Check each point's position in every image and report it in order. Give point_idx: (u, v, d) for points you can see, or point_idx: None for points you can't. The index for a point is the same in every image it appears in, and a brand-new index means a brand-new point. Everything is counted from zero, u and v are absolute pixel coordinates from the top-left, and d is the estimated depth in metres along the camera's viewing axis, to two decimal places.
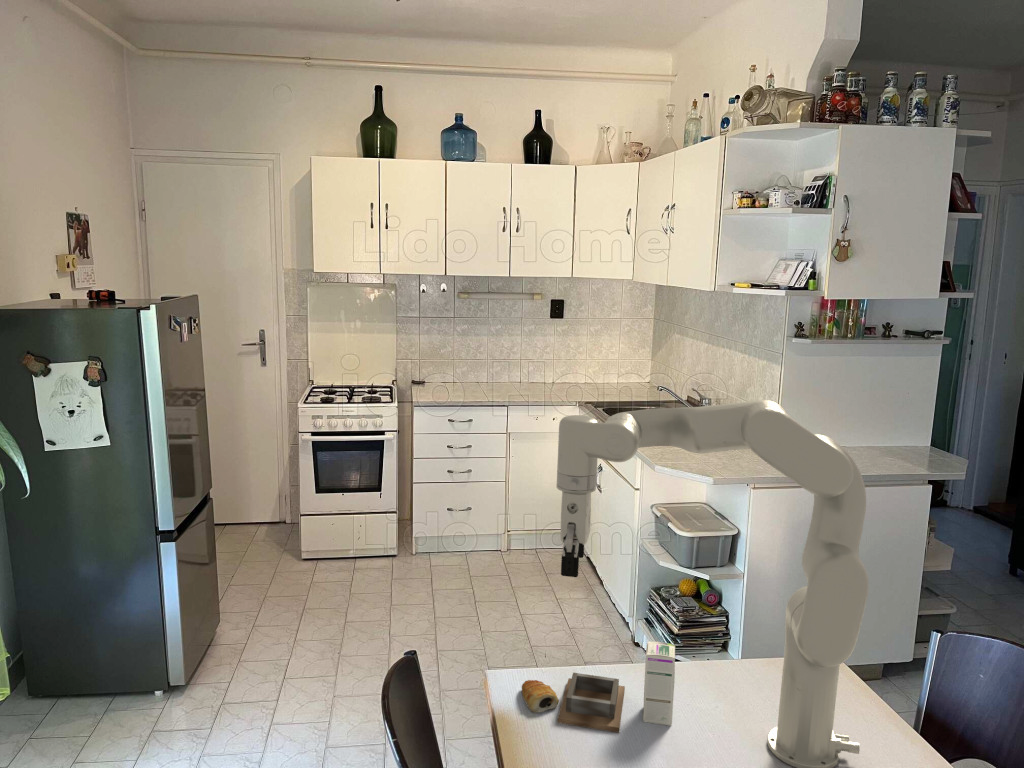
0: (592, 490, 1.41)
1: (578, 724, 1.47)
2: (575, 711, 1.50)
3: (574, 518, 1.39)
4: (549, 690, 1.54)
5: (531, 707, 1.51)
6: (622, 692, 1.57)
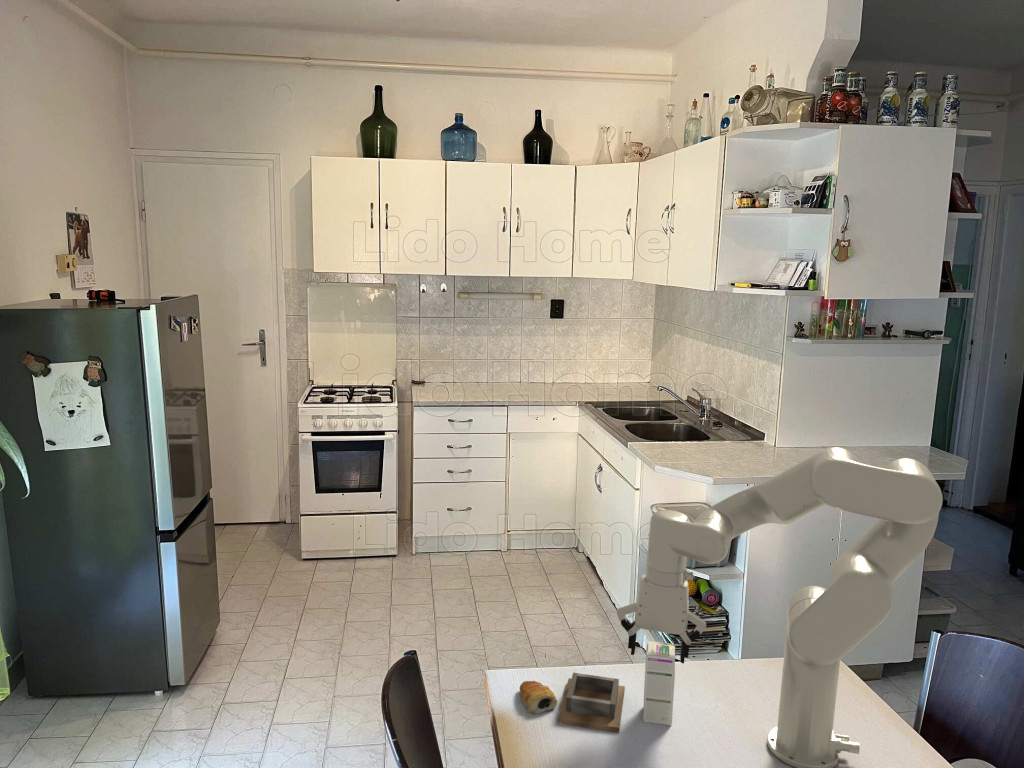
0: None
1: (578, 724, 1.47)
2: (575, 711, 1.50)
3: None
4: (547, 691, 1.53)
5: (530, 708, 1.50)
6: (622, 692, 1.57)
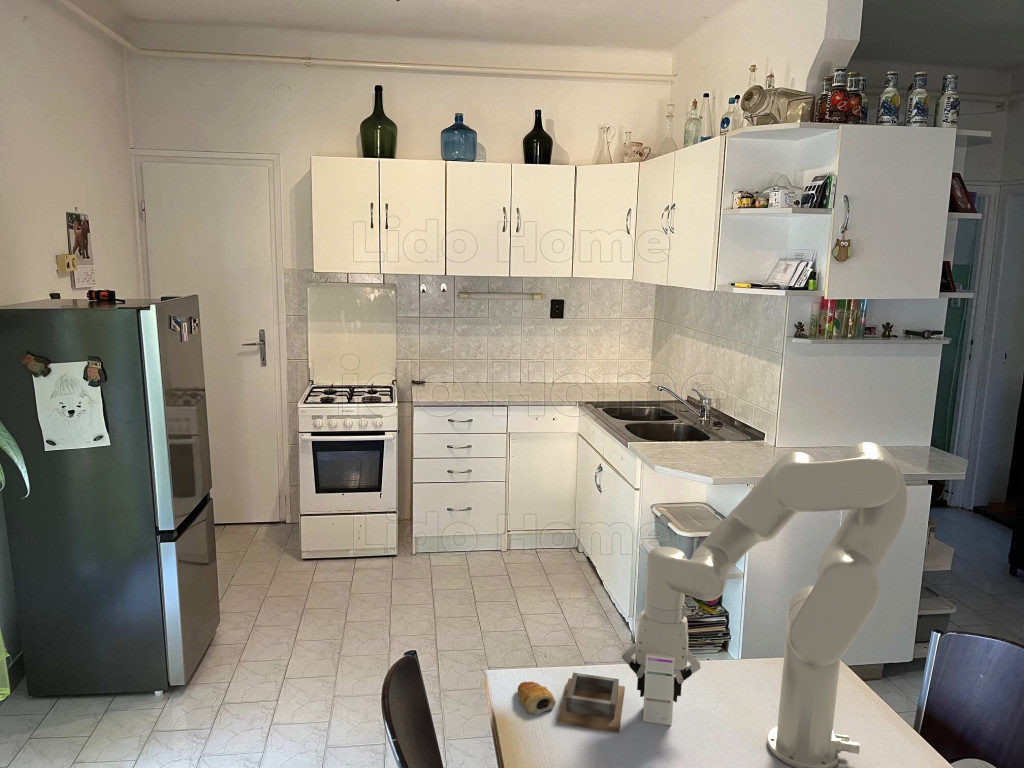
0: None
1: (578, 724, 1.47)
2: (575, 711, 1.50)
3: None
4: (546, 691, 1.53)
5: (528, 709, 1.50)
6: (622, 692, 1.57)
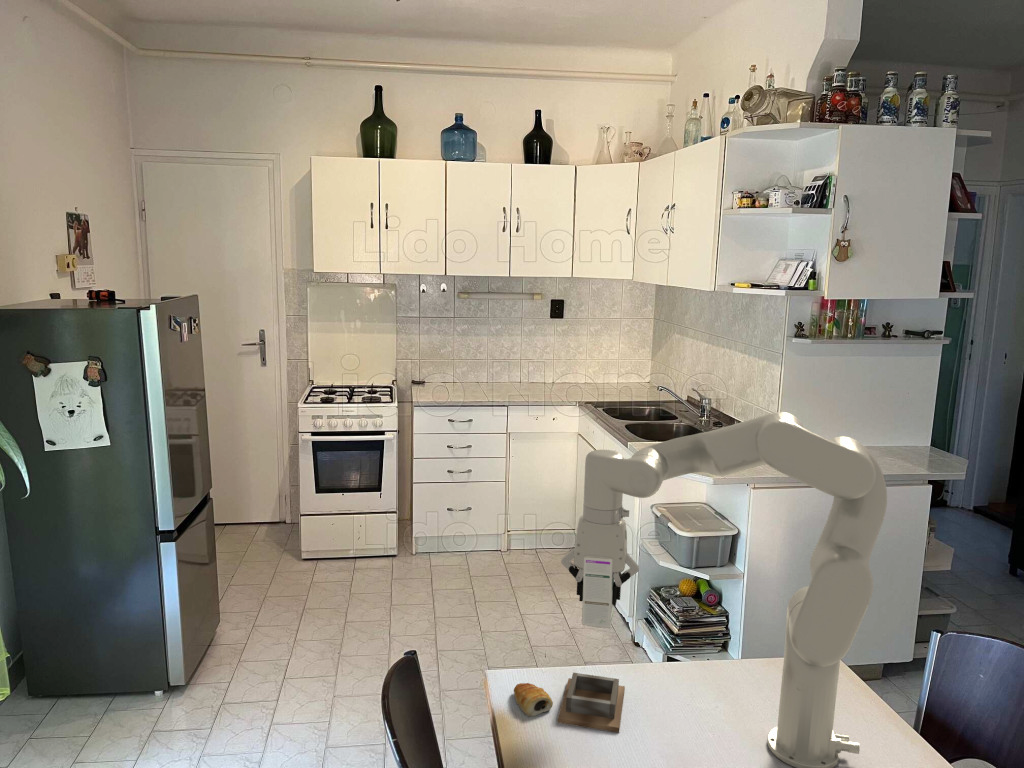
0: None
1: (578, 724, 1.47)
2: (575, 711, 1.50)
3: (626, 543, 1.48)
4: (543, 692, 1.53)
5: (526, 711, 1.50)
6: (622, 692, 1.57)
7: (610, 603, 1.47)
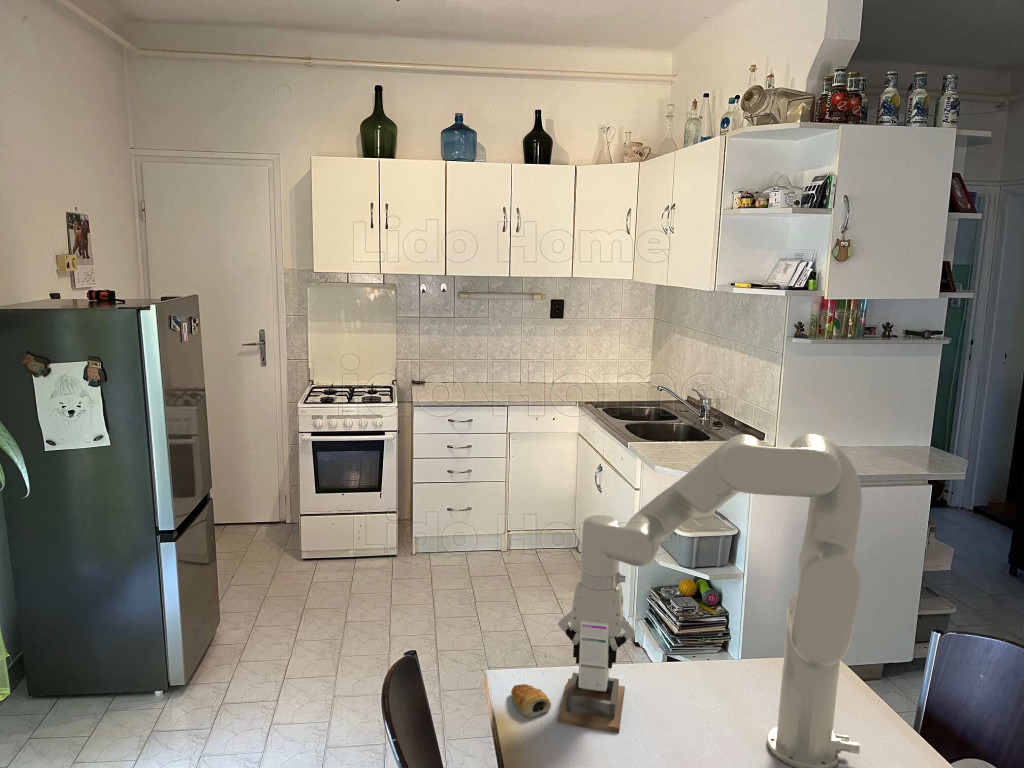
0: None
1: (578, 724, 1.47)
2: (575, 711, 1.50)
3: (622, 608, 1.50)
4: (541, 693, 1.52)
5: (525, 712, 1.49)
6: (622, 692, 1.57)
7: (606, 667, 1.49)
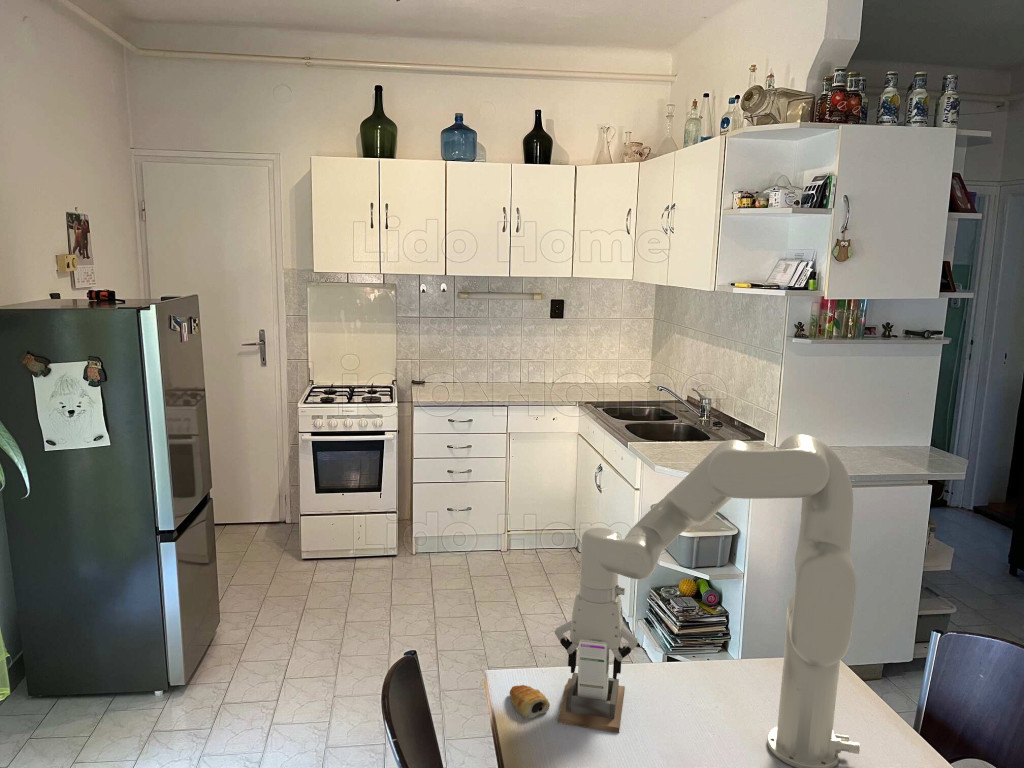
0: None
1: (578, 724, 1.47)
2: (575, 711, 1.50)
3: None
4: (539, 694, 1.52)
5: (523, 713, 1.49)
6: (622, 692, 1.57)
7: (605, 686, 1.50)
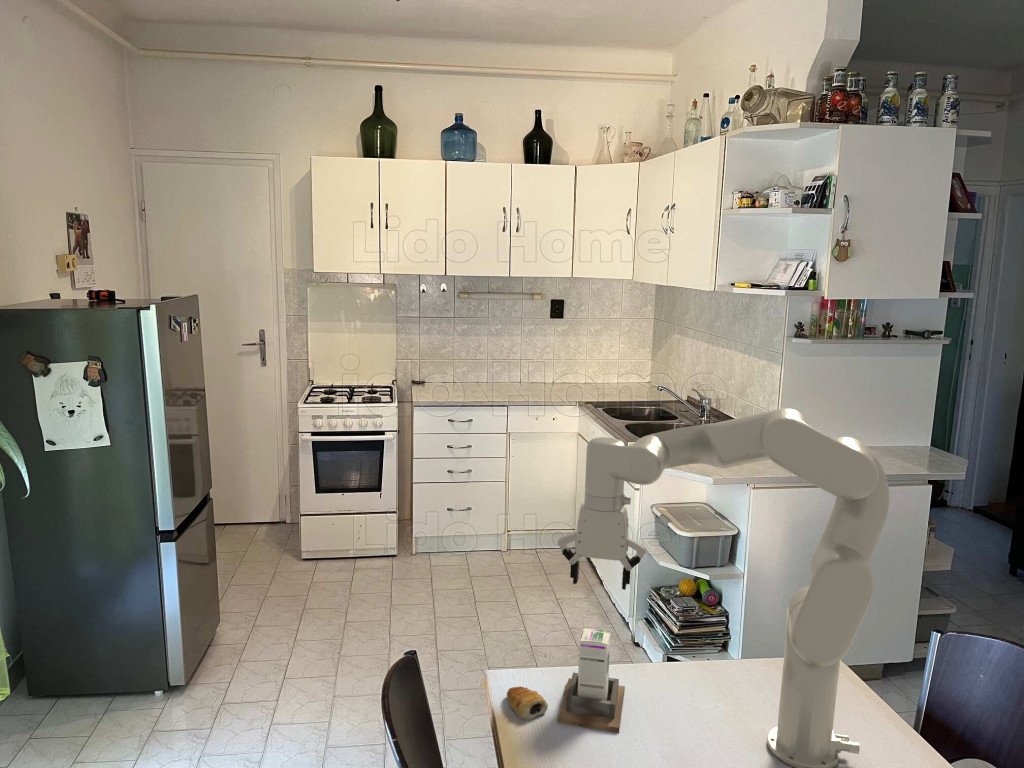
0: None
1: (578, 724, 1.47)
2: (575, 711, 1.50)
3: None
4: (537, 695, 1.52)
5: (522, 715, 1.48)
6: (622, 692, 1.57)
7: (605, 686, 1.50)
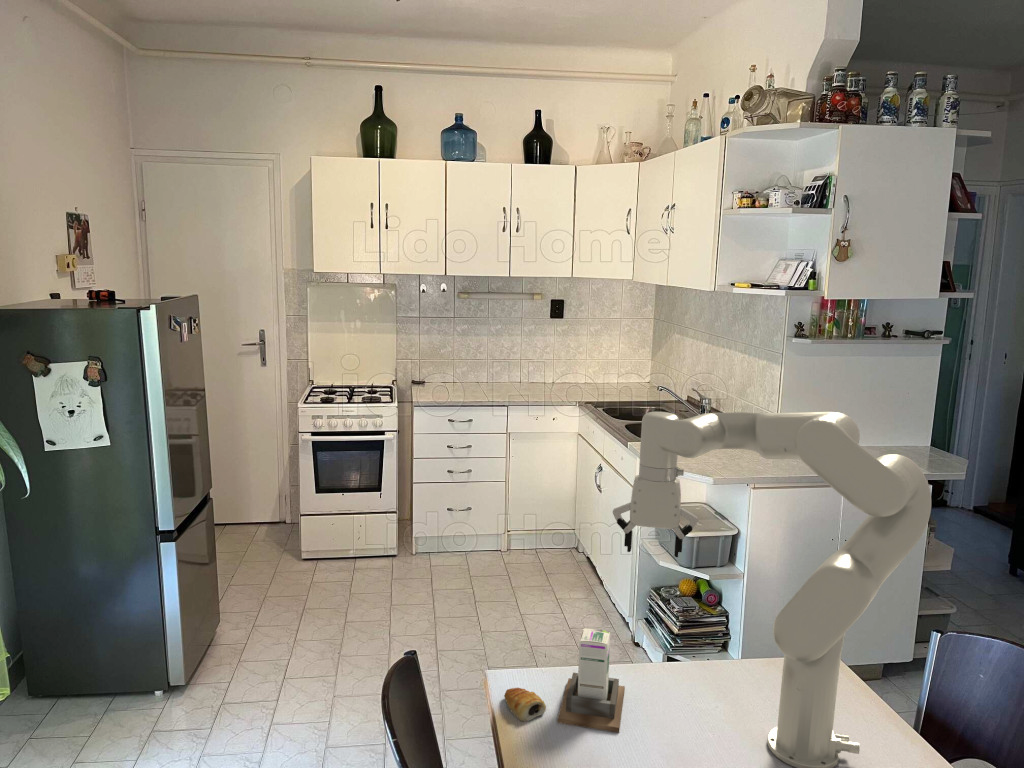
0: None
1: (578, 724, 1.47)
2: (575, 711, 1.50)
3: None
4: (535, 696, 1.51)
5: (520, 716, 1.48)
6: (622, 692, 1.57)
7: (605, 686, 1.50)
